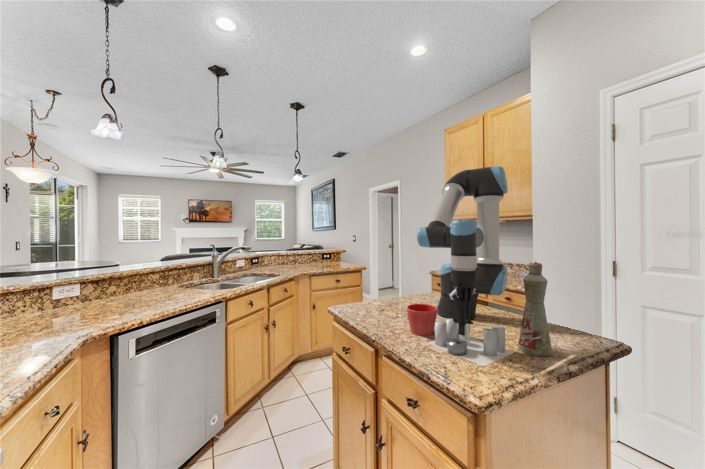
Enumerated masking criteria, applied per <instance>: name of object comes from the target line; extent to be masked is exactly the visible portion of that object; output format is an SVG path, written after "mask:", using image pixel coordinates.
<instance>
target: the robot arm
mask: <svg viewBox="0 0 705 469" xmlns="http://www.w3.org/2000/svg"><path fill="white" fill-rule="evenodd" d="M508 190H509V189H508V180H507V176H506V172H505V169H504V167H503V166H500V165H499V166H487V167H480V168H471V169H465V170H462V171H458V172H457V173H456V174H454V175H453V176H451V177H450V178H449V179H448V180H447V181H446V182H445V183H444V185H443V187H442V189H441V196H440V199H439V201H438V204H437V205H436V208H435V210H434V212H433V214H432V217H431V219H430V221H429V223H428V225H427V226H424V227H420V228H418V230H417V233H416V240H417V244H418V245H419V246H420V248H421V247H422V248H431V249H432V248H440V249H442V248H444V249H445V248H446V249H450V262H449V263H444V264H442V265H441V266H440V267H441V268H440V274H439V276H440V298H439V300H438V304H437V307H436V308H437V315H438V316H440V317H443V318H446V319H449V318H451V319H453V322H455V323H458V333H459V339H461V340H464V341H466V342H467V346H469V345H470V339H469V337H470V332H471V329H470V328H471V325H473V324H474V322H473V321H475V320H476V312H477V304H478V297H479V295H486V296H487V295H488V296H490V297H491V296H502V295H503V294H504V292H505V289H506V285H507V281H508V268H507V267H504V262H502V260H501V258H500V203H501V202H502V200H503V199H504V195H505V194H507V193H508ZM465 197H473V201H474V202H476V207H477V208H476V210H477V211H476V219H454V216H455V213H456V211H457V209H458V206H459V203H460V202H461V201H462V200H463V199H464V198H465Z"/></svg>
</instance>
